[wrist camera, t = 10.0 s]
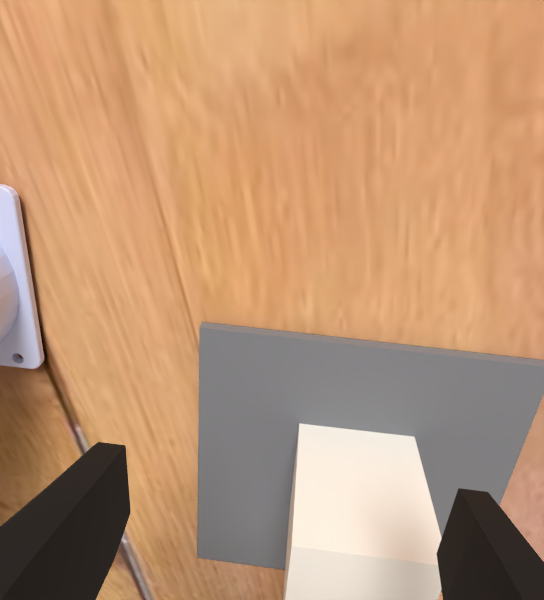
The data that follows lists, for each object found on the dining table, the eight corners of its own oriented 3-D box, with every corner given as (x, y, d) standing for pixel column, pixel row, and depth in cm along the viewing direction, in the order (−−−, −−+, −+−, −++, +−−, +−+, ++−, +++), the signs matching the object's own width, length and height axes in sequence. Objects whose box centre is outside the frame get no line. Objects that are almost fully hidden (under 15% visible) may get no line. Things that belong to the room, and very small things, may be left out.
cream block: (289, 504, 23) (280, 638, 17) (299, 423, 20) (291, 546, 15) (393, 517, 22) (417, 657, 17) (414, 436, 20) (449, 566, 15)
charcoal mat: (199, 549, 25) (197, 557, 25) (202, 321, 19) (199, 327, 19) (461, 585, 24) (463, 594, 24) (548, 360, 19) (553, 367, 18)
